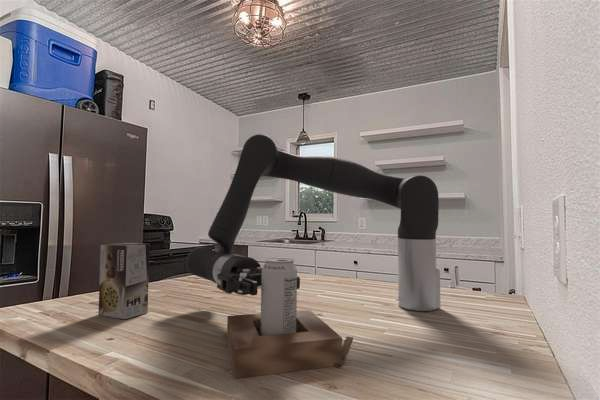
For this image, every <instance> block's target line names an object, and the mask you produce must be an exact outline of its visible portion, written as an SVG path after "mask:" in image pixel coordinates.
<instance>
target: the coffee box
mask: <svg viewBox="0 0 600 400" xmlns="http://www.w3.org/2000/svg"><path fill="white" fill-rule="evenodd" d="M150 246H151V243H142V242H115V243H108V244H107V243H106V244H100V253H99V254H100V255H99V287H98V290H99V291H98V292H99V293H98V316H103V317H108V318H115V319H121V320H127V319H130V318H131V319H132V318H135V317H137V316H141V315H145V314H147V313H148V311H149V308H148V307H149V305H148V304H149V281H150V280H149V279H150V278H149V276H150V273H149V272H150Z"/></svg>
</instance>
